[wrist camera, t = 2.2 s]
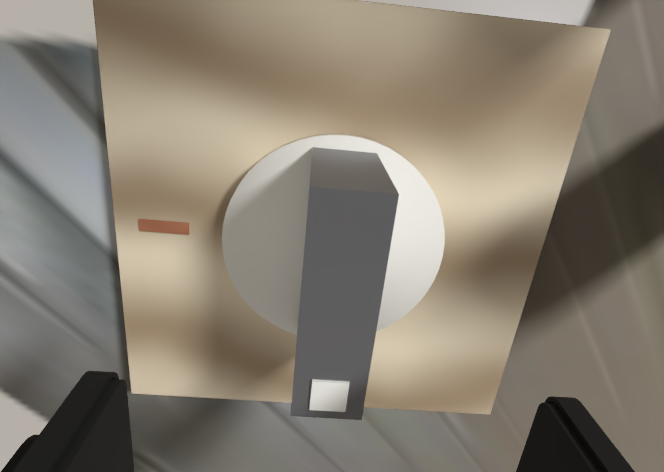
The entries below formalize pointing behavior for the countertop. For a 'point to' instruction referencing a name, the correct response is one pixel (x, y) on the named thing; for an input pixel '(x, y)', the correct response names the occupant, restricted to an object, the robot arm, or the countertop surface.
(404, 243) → the dial knob
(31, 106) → the countertop surface
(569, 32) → the dial plate
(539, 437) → the robot arm
